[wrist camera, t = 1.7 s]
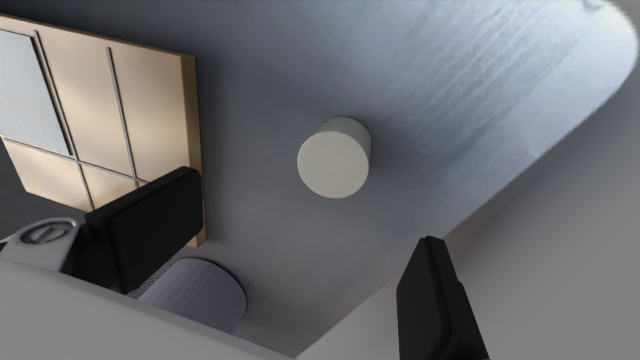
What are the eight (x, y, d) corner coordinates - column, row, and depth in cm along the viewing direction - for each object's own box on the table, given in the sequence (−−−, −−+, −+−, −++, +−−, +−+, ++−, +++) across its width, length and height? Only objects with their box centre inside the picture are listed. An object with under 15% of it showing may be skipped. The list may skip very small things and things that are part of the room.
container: (171, 243, 28) (-15, 402, 15) (253, 277, 27) (131, 477, 14) (173, 297, 33) (34, 452, 20) (242, 328, 32) (144, 510, 19)
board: (-62, -1, 21) (-95, -6, 20) (195, 55, 18) (178, 55, 17) (21, 179, 30) (2, 185, 28) (206, 239, 27) (196, 250, 25)
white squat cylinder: (319, 110, 18) (302, 123, 14) (379, 124, 17) (378, 141, 14) (309, 165, 20) (293, 188, 16) (363, 179, 19) (358, 206, 16)
